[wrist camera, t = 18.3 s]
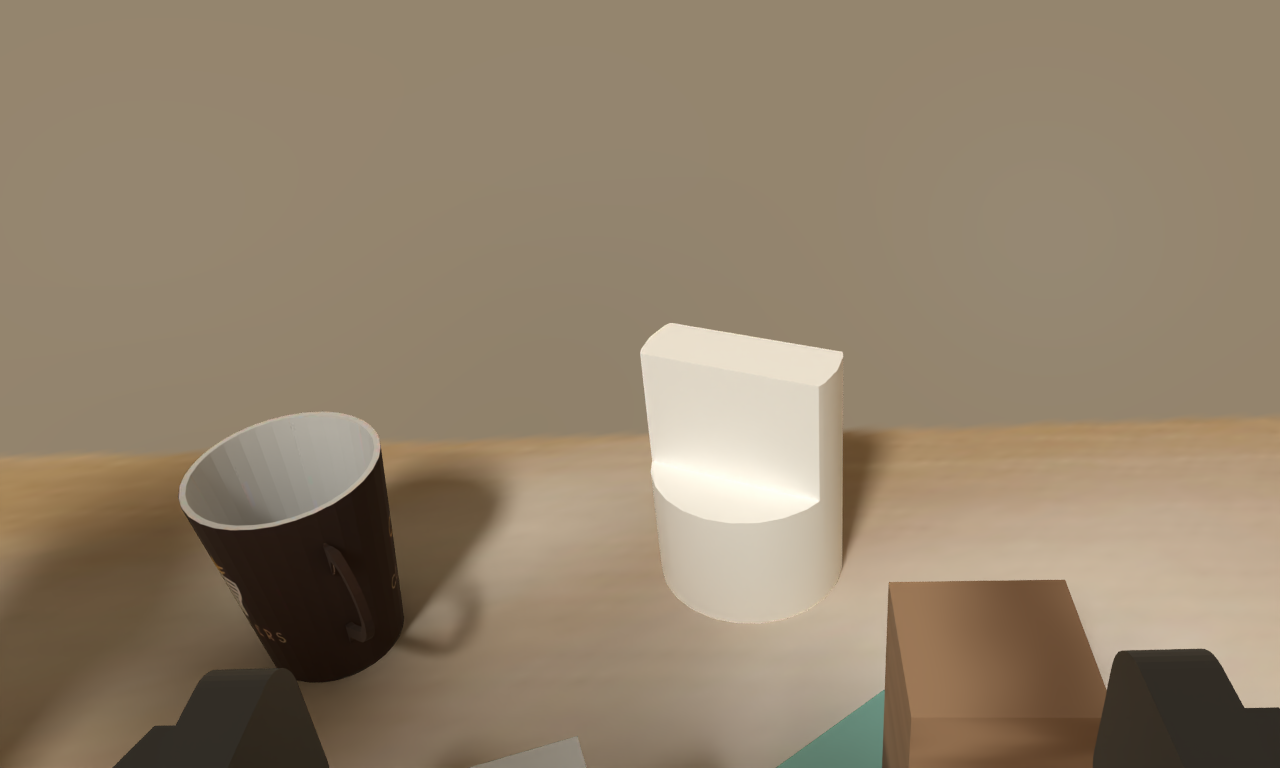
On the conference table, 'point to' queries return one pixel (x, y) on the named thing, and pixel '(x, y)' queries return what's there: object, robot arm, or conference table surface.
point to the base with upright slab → (745, 470)
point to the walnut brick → (988, 677)
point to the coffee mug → (303, 539)
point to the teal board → (847, 741)
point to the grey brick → (543, 757)
